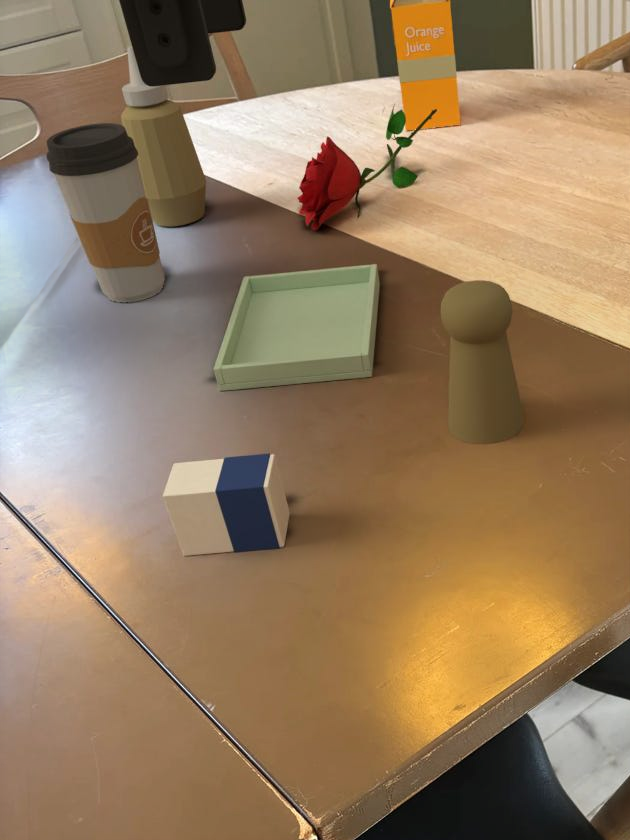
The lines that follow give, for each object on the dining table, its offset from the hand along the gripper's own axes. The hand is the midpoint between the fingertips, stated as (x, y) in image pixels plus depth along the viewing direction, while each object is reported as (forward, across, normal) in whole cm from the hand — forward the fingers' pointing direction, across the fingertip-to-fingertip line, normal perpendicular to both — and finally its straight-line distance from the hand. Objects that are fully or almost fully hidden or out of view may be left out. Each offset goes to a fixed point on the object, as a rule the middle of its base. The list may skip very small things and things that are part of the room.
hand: (199, 54), depth 48 cm
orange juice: (+30, -99, +8) cm, 104 cm away
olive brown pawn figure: (+31, -16, +12) cm, 36 cm away
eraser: (+30, -4, -6) cm, 31 cm away
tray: (+30, -35, -4) cm, 46 cm away
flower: (+30, -72, +1) cm, 78 cm away
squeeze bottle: (+30, -69, -22) cm, 78 cm away
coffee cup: (+30, -49, -23) cm, 62 cm away
